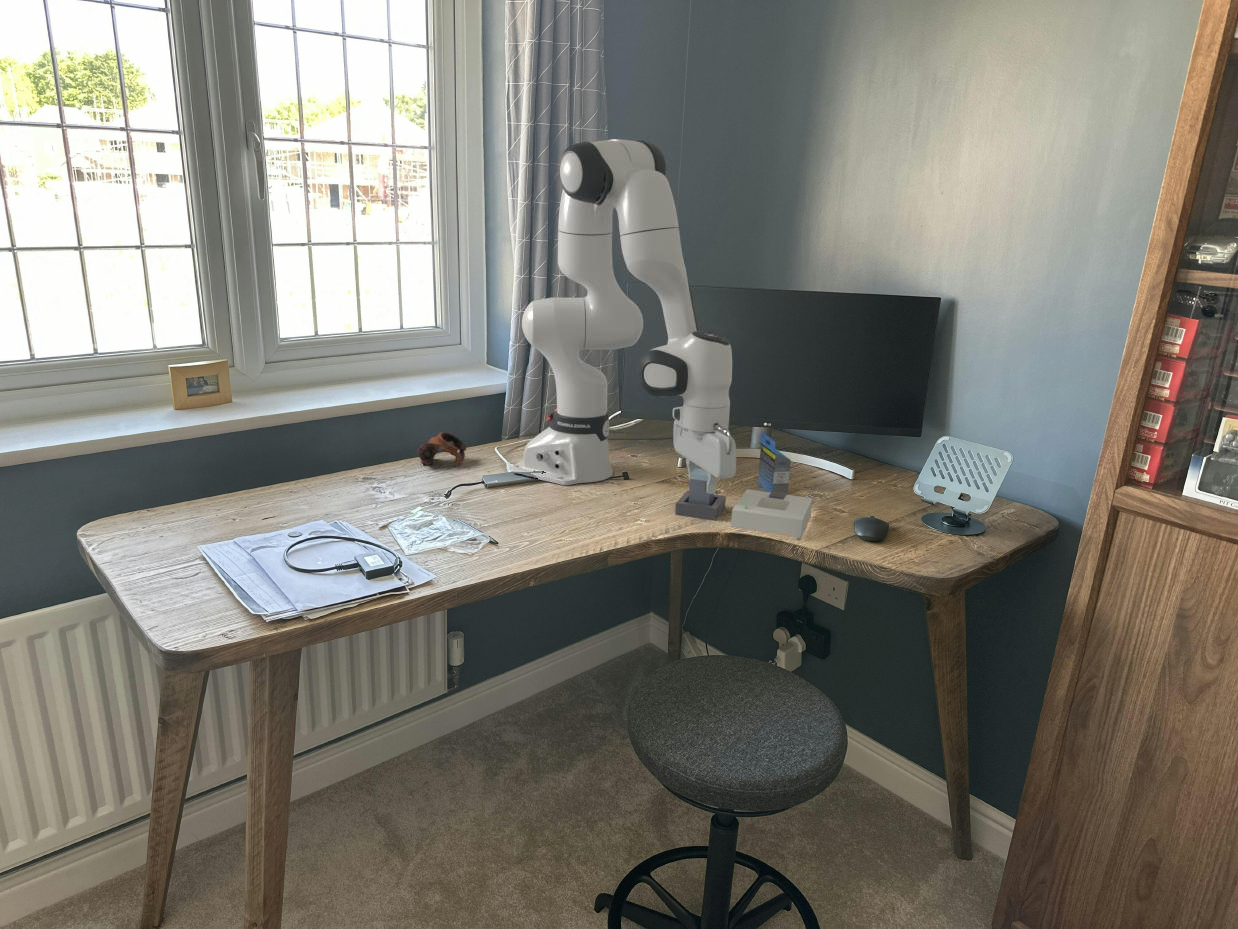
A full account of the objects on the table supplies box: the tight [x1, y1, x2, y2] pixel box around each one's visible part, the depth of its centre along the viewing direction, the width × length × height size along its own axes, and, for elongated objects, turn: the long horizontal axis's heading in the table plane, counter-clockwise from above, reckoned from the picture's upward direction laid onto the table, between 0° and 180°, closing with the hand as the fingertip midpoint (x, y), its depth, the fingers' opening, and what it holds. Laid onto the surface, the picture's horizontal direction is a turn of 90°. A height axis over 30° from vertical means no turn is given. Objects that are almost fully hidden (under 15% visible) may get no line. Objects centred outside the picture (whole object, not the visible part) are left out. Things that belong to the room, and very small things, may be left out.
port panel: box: [730, 489, 813, 541], centre depth 159 cm, size 13×13×4 cm
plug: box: [688, 467, 715, 506], centre depth 163 cm, size 4×4×8 cm
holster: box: [674, 490, 727, 522], centre depth 164 cm, size 8×8×3 cm
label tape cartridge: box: [757, 431, 792, 495], centre depth 177 cm, size 9×4×12 cm, turn 11°
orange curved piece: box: [417, 431, 467, 468], centre depth 190 cm, size 12×10×8 cm
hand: (701, 486), depth 162 cm, fingers closed on plug, 6 cm apart
